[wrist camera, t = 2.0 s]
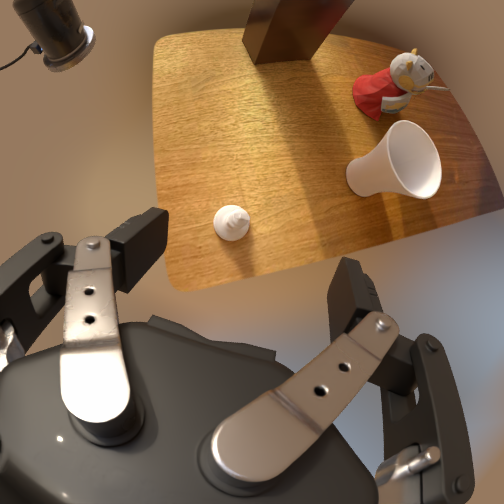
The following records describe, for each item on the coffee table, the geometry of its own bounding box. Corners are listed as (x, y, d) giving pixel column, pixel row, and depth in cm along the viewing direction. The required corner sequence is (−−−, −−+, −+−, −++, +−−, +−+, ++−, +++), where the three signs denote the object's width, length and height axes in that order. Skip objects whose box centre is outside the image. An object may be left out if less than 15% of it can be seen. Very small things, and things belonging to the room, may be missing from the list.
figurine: (380, 137, 42) (437, 109, 27) (340, 88, 40) (386, 45, 25) (409, 111, 43) (459, 85, 28) (375, 68, 41) (418, 32, 27)
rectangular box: (254, 65, 37) (289, -22, 17) (241, 40, 36) (268, -44, 16) (310, 59, 39) (363, -10, 19) (296, 35, 38) (339, -35, 18)
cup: (324, 156, 39) (373, 125, 26) (371, 142, 41) (422, 116, 28) (349, 218, 41) (407, 210, 27) (393, 197, 42) (450, 186, 29)
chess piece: (245, 244, 38) (262, 244, 28) (210, 237, 37) (214, 235, 27) (252, 209, 38) (270, 198, 28) (217, 202, 37) (223, 188, 27)
